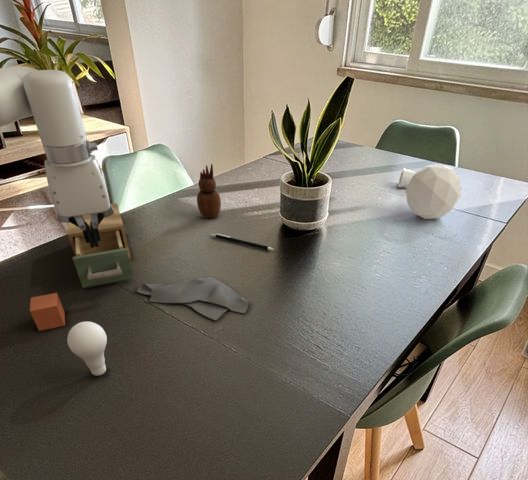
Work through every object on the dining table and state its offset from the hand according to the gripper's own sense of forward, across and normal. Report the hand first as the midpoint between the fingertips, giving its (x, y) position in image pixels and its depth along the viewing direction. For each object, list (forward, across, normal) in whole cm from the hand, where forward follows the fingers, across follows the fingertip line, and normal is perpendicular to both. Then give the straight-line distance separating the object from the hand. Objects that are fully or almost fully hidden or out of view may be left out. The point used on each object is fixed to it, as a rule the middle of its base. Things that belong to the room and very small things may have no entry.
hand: (94, 244), depth 89 cm
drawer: (+11, 0, -6) cm, 12 cm away
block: (+12, +12, +8) cm, 18 cm away
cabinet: (+12, -1, -20) cm, 23 cm away
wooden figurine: (+12, -32, -30) cm, 46 cm away
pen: (+11, -35, -10) cm, 39 cm away
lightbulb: (+12, +4, +27) cm, 30 cm away
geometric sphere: (+11, -91, -7) cm, 92 cm away
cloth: (+11, -18, +9) cm, 24 cm away
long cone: (+11, -105, -24) cm, 108 cm away
